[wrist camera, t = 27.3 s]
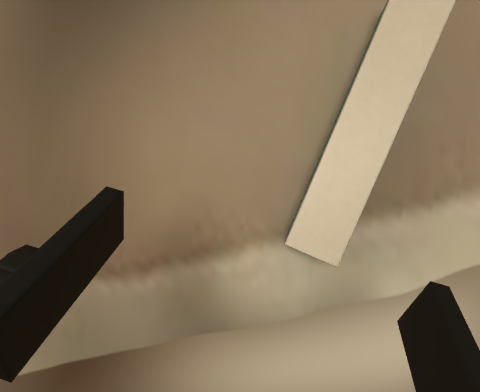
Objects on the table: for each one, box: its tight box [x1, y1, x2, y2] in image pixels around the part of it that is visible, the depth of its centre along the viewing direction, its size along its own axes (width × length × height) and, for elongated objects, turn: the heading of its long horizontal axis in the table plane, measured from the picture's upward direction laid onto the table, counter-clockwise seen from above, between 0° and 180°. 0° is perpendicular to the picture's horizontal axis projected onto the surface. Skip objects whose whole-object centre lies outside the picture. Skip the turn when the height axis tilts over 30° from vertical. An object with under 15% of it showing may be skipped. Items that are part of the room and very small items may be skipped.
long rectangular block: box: [285, 0, 456, 267], centre depth 26 cm, size 22×4×5 cm, turn 157°
